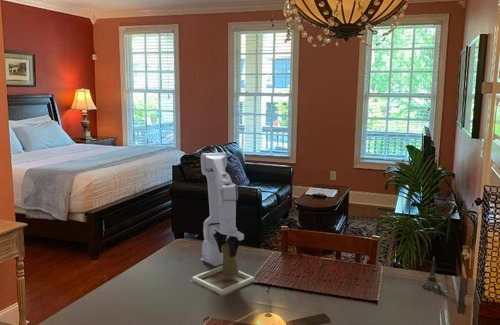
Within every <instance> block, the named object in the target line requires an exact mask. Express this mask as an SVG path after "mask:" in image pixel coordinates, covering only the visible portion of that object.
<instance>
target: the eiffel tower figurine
mask: <svg viewBox="0 0 500 325" xmlns="http://www.w3.org/2000/svg"><path fill="white" fill-rule="evenodd" d="M435 259H436V257H432V264H431V268H430V269H431V270H430V273H429V276H428V277H427V279H422V278H421V279H420V278H415V281H421V282H424V283H423V284H422V286H420V287H419V288H420V289H422V290H425V291H427V292H428V293H431V294H436V293H438V292H443V293H444V294H446V295H444V296H442V299H444V300H449V301H451V300H452V297H451V296H450V293H449V291H448V289H447V286H446V284H443V283H442V282H440V281H439V282H438V280H437V278H436V273H435V261H436V260H435Z"/></svg>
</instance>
